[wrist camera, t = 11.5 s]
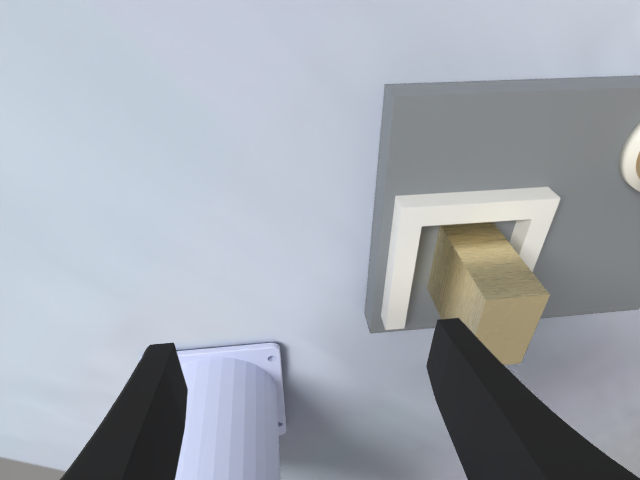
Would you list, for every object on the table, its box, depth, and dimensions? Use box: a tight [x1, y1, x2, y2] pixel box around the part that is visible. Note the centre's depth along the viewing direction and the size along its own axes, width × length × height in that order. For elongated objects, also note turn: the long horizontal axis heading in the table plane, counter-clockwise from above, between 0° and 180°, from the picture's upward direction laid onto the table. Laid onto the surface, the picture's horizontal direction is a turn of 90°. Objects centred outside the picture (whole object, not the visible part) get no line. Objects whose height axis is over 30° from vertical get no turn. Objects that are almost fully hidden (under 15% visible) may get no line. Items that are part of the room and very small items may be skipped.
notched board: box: [365, 76, 640, 333], centre depth 21 cm, size 13×16×2 cm
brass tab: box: [427, 222, 550, 365], centre depth 19 cm, size 4×2×5 cm, turn 0°
